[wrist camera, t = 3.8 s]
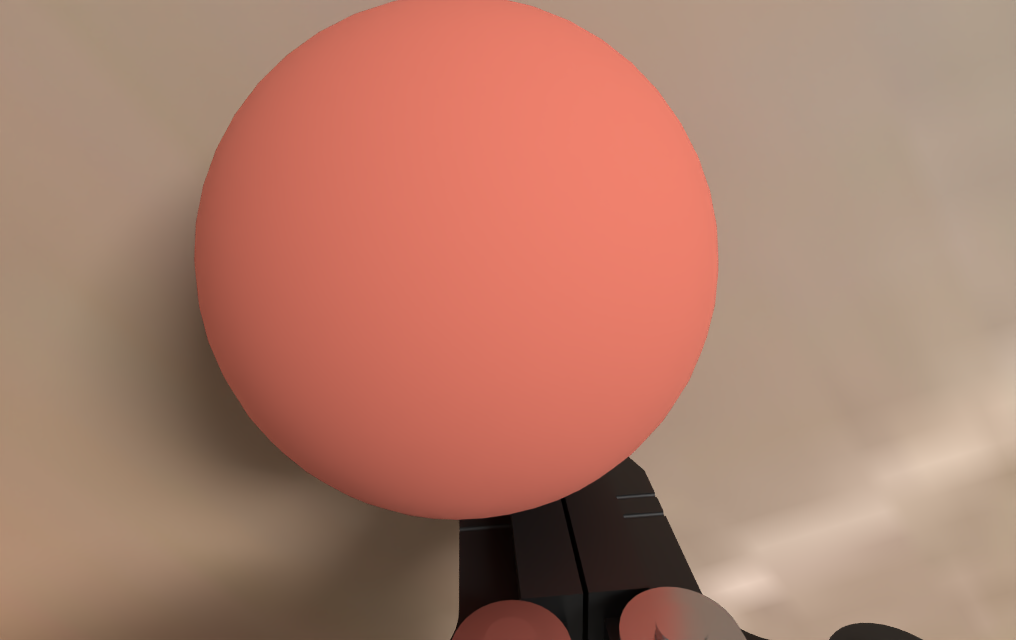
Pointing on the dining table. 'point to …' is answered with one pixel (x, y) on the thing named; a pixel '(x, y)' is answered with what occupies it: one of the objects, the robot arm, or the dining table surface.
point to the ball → (456, 257)
